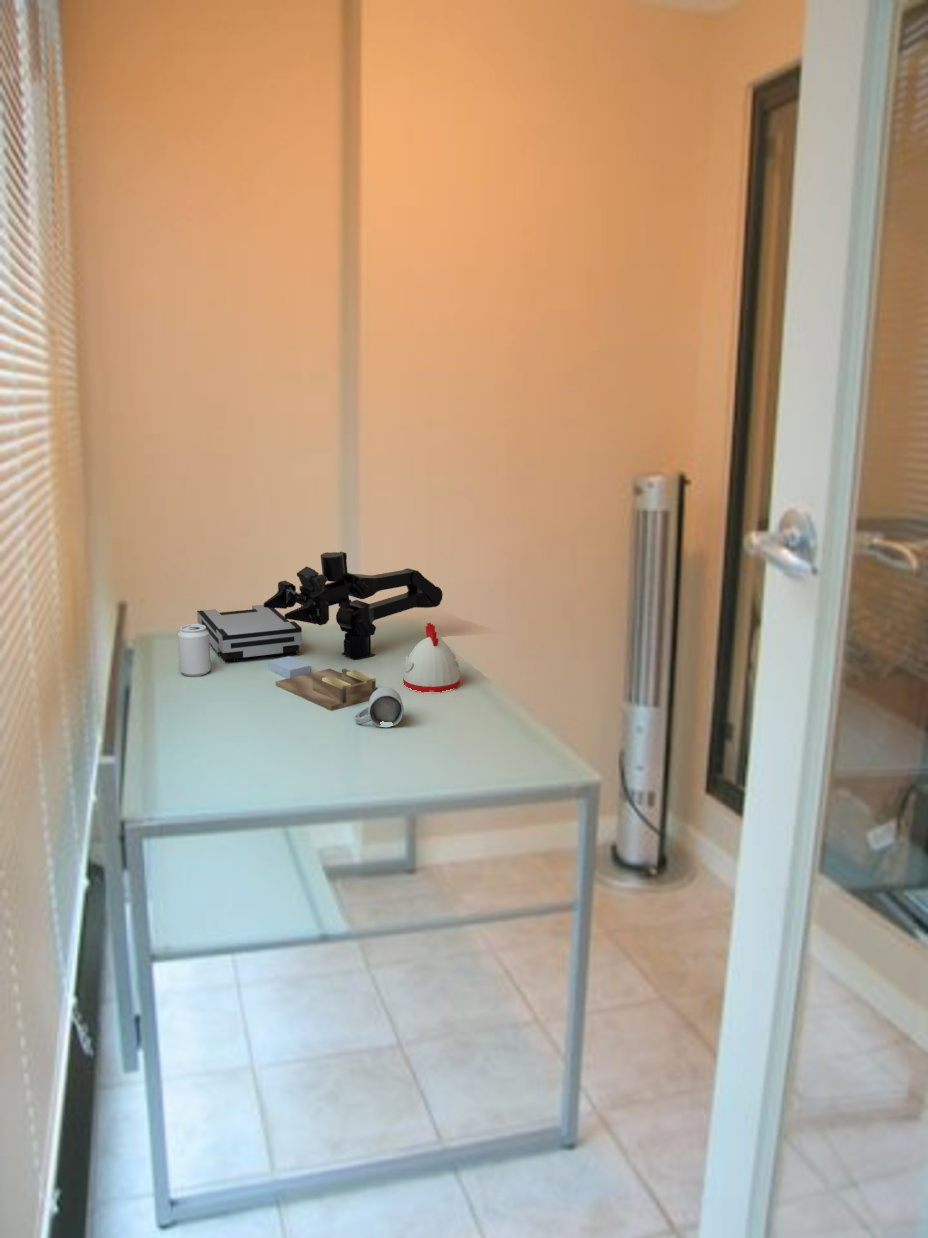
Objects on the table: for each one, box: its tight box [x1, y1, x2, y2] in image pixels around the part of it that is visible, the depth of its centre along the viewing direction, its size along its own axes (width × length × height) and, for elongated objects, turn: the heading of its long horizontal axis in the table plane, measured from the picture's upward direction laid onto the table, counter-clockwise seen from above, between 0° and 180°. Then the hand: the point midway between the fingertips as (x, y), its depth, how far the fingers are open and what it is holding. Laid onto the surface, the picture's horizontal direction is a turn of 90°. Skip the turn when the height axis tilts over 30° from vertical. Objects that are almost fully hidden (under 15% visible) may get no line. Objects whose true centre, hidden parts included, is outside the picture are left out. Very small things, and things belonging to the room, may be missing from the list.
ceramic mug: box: [354, 686, 405, 727], centre depth 230 cm, size 11×8×8 cm
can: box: [177, 623, 212, 677], centre depth 261 cm, size 8×8×12 cm
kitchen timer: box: [402, 622, 461, 693], centre depth 255 cm, size 14×14×15 cm
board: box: [275, 668, 380, 712], centre depth 250 cm, size 16×23×5 cm
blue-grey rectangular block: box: [268, 655, 312, 679], centre depth 263 cm, size 6×10×3 cm, turn 41°
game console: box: [196, 604, 303, 663], centre depth 285 cm, size 21×32×8 cm, turn 25°
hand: (274, 610), depth 257 cm, fingers open, 9 cm apart
